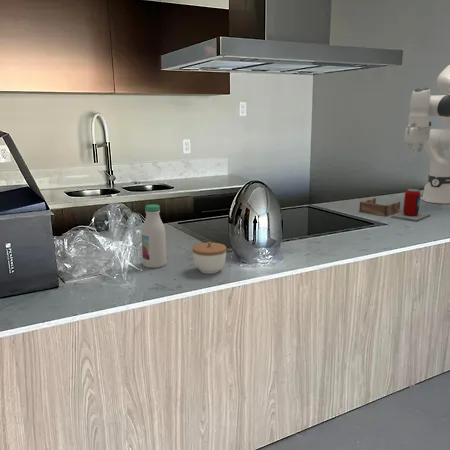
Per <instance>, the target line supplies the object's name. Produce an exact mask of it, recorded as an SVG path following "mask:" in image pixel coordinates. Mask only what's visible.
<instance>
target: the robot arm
mask: <svg viewBox="0 0 450 450" xmlns="http://www.w3.org/2000/svg"><path fill="white" fill-rule="evenodd" d="M436 87H437V88H438V90H440V92H441V93H443V95H441V94H440V95H437V94H436V95H432V94H431V89H430V88H429V87H420V88H419V87H418V88H415V89H413V90H412V93H411V97H410V101H409V111H410V112H409V114H408V122H407V124H408V125H407V127H406V129H405V131H404V139H403V142H404V144H408V145H407V146H408V153H409V154H414V152H415V151H414V150H415V149H414V145H415V144H418V147H417V148H416V149H417V153H419V152H420V153H421V152H423V148H424V150H425V151H426V153H427V155H428V157H429V175H428V177H427V183H426V184H425V185H424V189H423V194H422V195H423V196H420V200H421V201H423V202H427V203H431V204H432V203H433V204H450V158H449V157H448V156H447V155H446V153H445V151H450V64H449V65H447V66H446V67H445V68H444V69H443V70H442V71H441V72H440V73H439V75H438V76H437V79H436ZM430 117H441V120H442V123H443V124H444V126H446V127H447V128H431V127H432V125H433V123H432V121H431V120H430Z"/></svg>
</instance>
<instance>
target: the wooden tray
mask: <svg viewBox="0 0 450 450" xmlns="http://www.w3.org/2000/svg"><path fill="white" fill-rule="evenodd" d="M376 201H377V198H374V197H373V198H370V199H366V200H363V201H359V209H358V211H359V213H364V214H370V215H376V216H381V217H389V216H392V215H394V214H397V213H400V211H401V210H400V209H401V208H400V207H401V201H396V202H392V203H390V204H387V205H385V204H378V203H377V202H376Z"/></svg>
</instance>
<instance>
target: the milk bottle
mask: <svg viewBox="0 0 450 450" xmlns="http://www.w3.org/2000/svg"><path fill="white" fill-rule="evenodd" d="M144 207H145V208H144V210H145V219H144V221H143V225H142V228H141V251H142V252H141V253H142V264H143V266H144V267H146V268H148V269H155V268H156V269H158V268H162V267H165V266H166V265H167V240H166V237H167V235H166V229H165V225H164V223H163V221H162V219H161V215H160V211H161V208H160V207H161V206H160V205H159V204H146V205H145V206H144Z"/></svg>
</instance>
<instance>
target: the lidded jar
mask: <svg viewBox="0 0 450 450" xmlns="http://www.w3.org/2000/svg"><path fill="white" fill-rule="evenodd" d="M191 250H192V258H193V262H194V265H195V267H196V268H197V269H198V270H199V271H200V272H201V273H203V274H205V275H206V274H209V275H210V274H216V273H218V272H220V270H222V268H223V267H224V266H225V263H226V260H227V259H226V258H227V246H226V245H225V244H224V243H223V244H222V243H219V242H211V241H207V242H201V243H197V244H195V245H193V246H192V248H191Z"/></svg>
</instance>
